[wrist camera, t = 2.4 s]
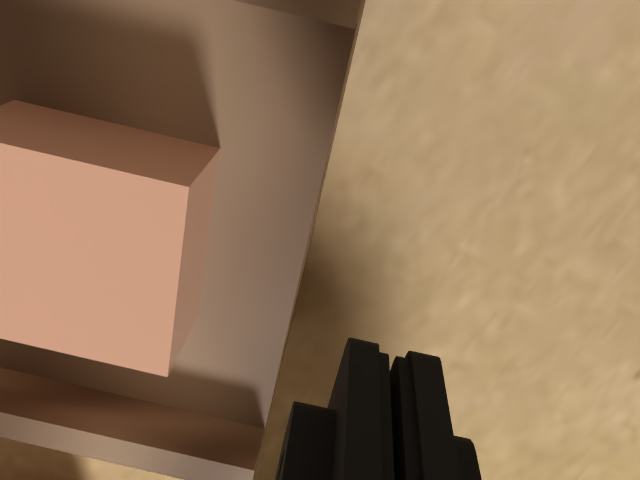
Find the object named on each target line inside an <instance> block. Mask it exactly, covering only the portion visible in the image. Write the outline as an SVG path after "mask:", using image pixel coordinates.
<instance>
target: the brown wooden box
mask: <svg viewBox="0 0 640 480" xmlns="http://www.w3.org/2000/svg"><path fill="white" fill-rule="evenodd" d="M364 5H365V0H0V105H3V104H5V103H8V102H10V101H12V100H17V101H21V102H26V103H30V104H34V105H39V106H43V107H47V108H51V109H56V110H60V111H64V112H68V113H73V114H77V115H81V116H85V117H90V118H94V119H98V120H102V121H107V122H111V123H115V124H119V125H124V126H128V127H132V128H136V129H141V130H145V131H149V132H153V133H158V134H162V135H166V136H171V137H175V138H179V139H183V140H188V141H192V142H196V143H200V144H205V145H209V146H213V147H217V148H220V156H219V163H218V170H217V178H216V185H215V192H214V200H213V207H212V214H211V222H210V229H209V236H208V244H207V251H206V259H205V266H204V273H203V281H202V288H201V295H200V303H199V310H198V317H197V320H196V322H195V324H194V326H193V328H192V330H191V332H190V334H189V336H188V338H187V340H186V342H185V343H184V345H183V347H182V349H181V351H180V353H179V355H178V357H177V359H176V361H175V363H174V365H173V367H172V369H171V371H170V373H169V375H168V377H165V376H160V375H156V374H152V373H147V372H143V371H139V370H134V369H130V368H126V367H121V366H117V365H113V364H108V363H104V362H100V361H95V360H91V359H87V358H82V357H78V356H74V355H70V354H65V353H61V352H57V351H52V350H48V349H44V348H39V347H35V346H31V345H26V344H22V343H18V342H13V341H9V340H5V339H0V437H2V438H6V439H11V440H15V441H19V442H24V443H28V444H32V445H37V446H41V447H45V448H50V449H54V450H58V451H63V452H67V453H72V454H76V455H80V456H85V457H89V458H93V459H98V460H102V461H106V462H111V463H115V464H119V465H124V466H128V467H132V468H137V469H141V470H145V471H150V472H154V473H158V474H163V475H167V476H171V477H176V478H180V479H184V480H253V477H254V473H255V469H256V465H257V461H258V457H259V453H260V449H261V445H262V441H263V437H264V433H265V429H266V424H267V420H268V416H269V412H270V408H271V404H272V400H273V396H274V392H275V388H276V384H277V380H278V376H279V372H280V367H281V363H282V359H283V355H284V351H285V347H286V343H287V339H288V335H289V331H290V327H291V323H292V318H293V314H294V310H295V305H296V301H297V297H298V292H299V288H300V284H301V279H302V275H303V270H304V266H305V262H306V257H307V253H308V249H309V244H310V240H311V236H312V231H313V227H314V223H315V218H316V214H317V209H318V205H319V201H320V196H321V192H322V188H323V183H324V179H325V175H326V170H327V166H328V162H329V157H330V153H331V148H332V144H333V140H334V135H335V131H336V127H337V122H338V118H339V114H340V109H341V105H342V101H343V96H344V92H345V87H346V83H347V79H348V74H349V70H350V66H351V61H352V57H353V53H354V48H355V44H356V40H357V35H358V31H359V26H360V22H361V18H362V13H363V9H364Z"/></svg>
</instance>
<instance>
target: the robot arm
mask: <svg viewBox="0 0 640 480" xmlns="http://www.w3.org/2000/svg"><path fill="white" fill-rule="evenodd" d="M276 480H482V479H481V474H480V470H479V465H478V460H477V455H476V450H475V447H474V444H473V442H472V441H471V440H470V439H467V438H463V437H458V436H454V435H453V429H452V424H451V418H450V412H449V406H448V400H447V394H446V388H445V382H444V376H443V370H442V364H441V360H440V358H439V357H436V356H432V355H427V354H423V353H418V352H413V351H408V353H407V354H406V356H405V358H403V357H399V356H396V357H395V359H394V362H393V364H392V367H391V370H390V369H389V355H388V354H385V353H381V352H379V345H378V344H377V343H372V342H368V341H363V340H359V339H354V338H348V340H347V343H346V346H345V350H344V353H343V357H342V360H341V363H340V367H339V370H338V374H337V377H336V381H335V384H334V388H333V391H332V395H331V398H330V401H329V405H328V408H323V407H318V406H314V405H309V404H304V403H300V402H295V401H294V402H293V405H292V409H291V413H290V417H289V421H288V425H287V428H286V433H285V437H284V441H283V446H282V450H281V455H280V460H279V465H278V470H277V475H276Z"/></svg>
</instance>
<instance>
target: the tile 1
mask: <svg viewBox="0 0 640 480" xmlns="http://www.w3.org/2000/svg"><path fill="white" fill-rule="evenodd" d="M219 156H220V148H217V147H213V146H209V145H205V144H200V143H196V142H192V141H188V140H183V139H179V138H175V137H171V136H166V135H162V134H158V133H153V132H149V131H145V130H141V129H136V128H132V127H128V126H124V125H119V124H115V123H111V122H107V121H102V120H98V119H94V118H90V117H85V116H81V115H77V114H73V113H68V112H64V111H60V110H56V109H51V108H47V107H43V106H39V105H34V104H30V103H26V102H21V101H17V100H12V101H10V102H8V103H5V104H3V105H0V339H5V340H9V341H13V342H18V343H22V344H26V345H31V346H35V347H39V348H44V349H48V350H52V351H57V352H61V353H65V354H70V355H74V356H78V357H82V358H87V359H91V360H95V361H100V362H104V363H108V364H113V365H117V366H121V367H126V368H130V369H134V370H139V371H143V372H147V373H152V374H156V375H160V376H165V377H168V375H169V373H170V371H171V369H172V367H173V365H174V363H175V361H176V359H177V357H178V355H179V353H180V351H181V349H182V347H183V345H184V343H185V342H186V340H187V338H188V336H189V334H190V332H191V330H192V328H193V326H194V324H195V322H196V320H197V317H198V310H199V303H200V295H201V288H202V281H203V273H204V266H205V259H206V251H207V244H208V236H209V229H210V222H211V214H212V207H213V200H214V192H215V185H216V178H217V170H218V163H219Z"/></svg>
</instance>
